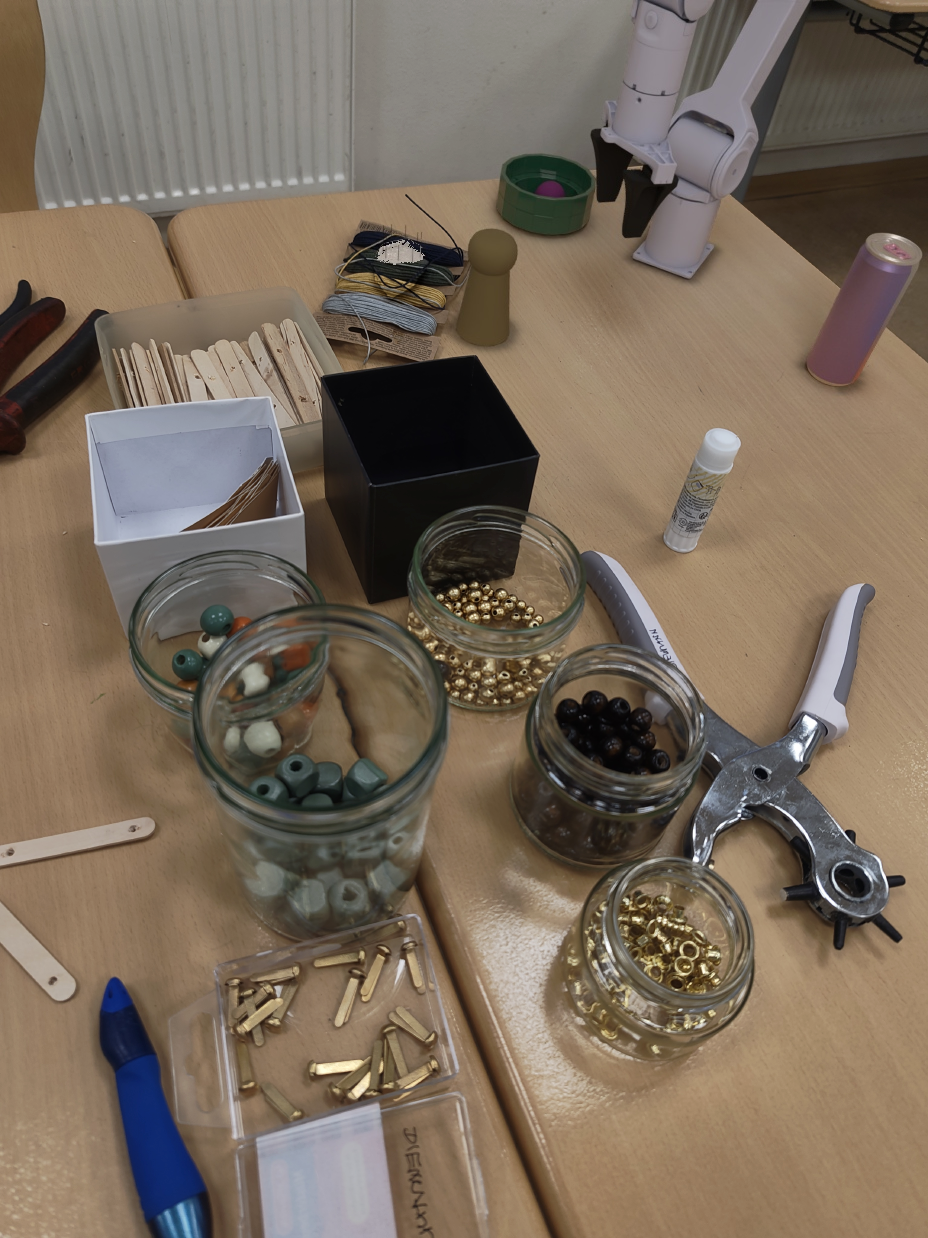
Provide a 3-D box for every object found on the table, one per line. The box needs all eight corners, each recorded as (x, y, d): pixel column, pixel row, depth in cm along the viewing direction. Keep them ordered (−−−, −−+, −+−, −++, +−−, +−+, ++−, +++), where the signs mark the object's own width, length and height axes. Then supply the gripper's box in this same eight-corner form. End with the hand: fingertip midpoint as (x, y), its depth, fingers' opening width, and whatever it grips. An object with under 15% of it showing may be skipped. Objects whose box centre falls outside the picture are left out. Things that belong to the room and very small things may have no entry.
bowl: (521, 182, 119) (527, 144, 115) (602, 210, 116) (610, 172, 112) (480, 217, 112) (484, 177, 108) (564, 248, 109) (572, 209, 105)
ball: (537, 191, 114) (552, 168, 111) (560, 212, 115) (575, 190, 111) (523, 205, 112) (538, 182, 109) (546, 226, 113) (562, 204, 109)
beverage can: (828, 393, 96) (894, 267, 84) (793, 362, 99) (852, 236, 87) (867, 381, 98) (937, 257, 86) (831, 351, 101) (894, 227, 89)
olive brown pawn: (504, 350, 95) (518, 256, 86) (450, 339, 95) (459, 244, 86) (513, 320, 98) (528, 226, 90) (461, 309, 99) (471, 215, 90)
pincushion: (416, 307, 98) (419, 260, 94) (363, 298, 98) (363, 251, 94) (433, 253, 105) (437, 207, 101) (384, 245, 106) (385, 199, 101)
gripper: (587, 54, 88) (562, 187, 99) (643, 117, 80) (609, 254, 91) (649, 53, 90) (618, 184, 101) (710, 115, 82) (669, 250, 93)
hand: (618, 217), depth 96 cm, fingers open, 7 cm apart
